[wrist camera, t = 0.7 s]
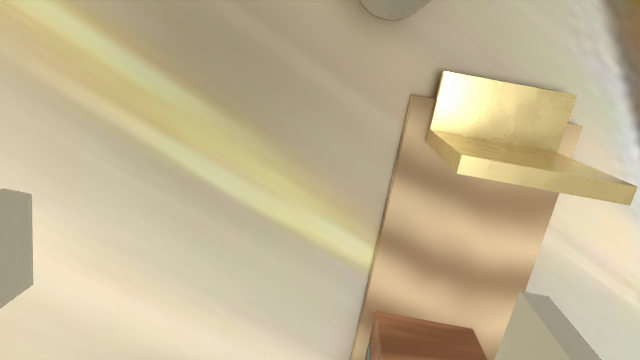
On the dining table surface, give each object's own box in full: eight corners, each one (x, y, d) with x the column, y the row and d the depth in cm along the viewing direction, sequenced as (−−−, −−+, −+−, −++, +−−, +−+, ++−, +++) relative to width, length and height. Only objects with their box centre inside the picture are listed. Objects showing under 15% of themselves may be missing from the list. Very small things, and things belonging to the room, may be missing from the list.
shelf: (411, 94, 31) (451, 114, 19) (573, 124, 31) (713, 162, 19) (348, 364, 37) (350, 502, 26) (482, 390, 37) (544, 540, 26)
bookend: (442, 70, 29) (483, 74, 20) (572, 94, 29) (669, 108, 20) (425, 141, 30) (456, 173, 22) (548, 164, 30) (630, 205, 22)
